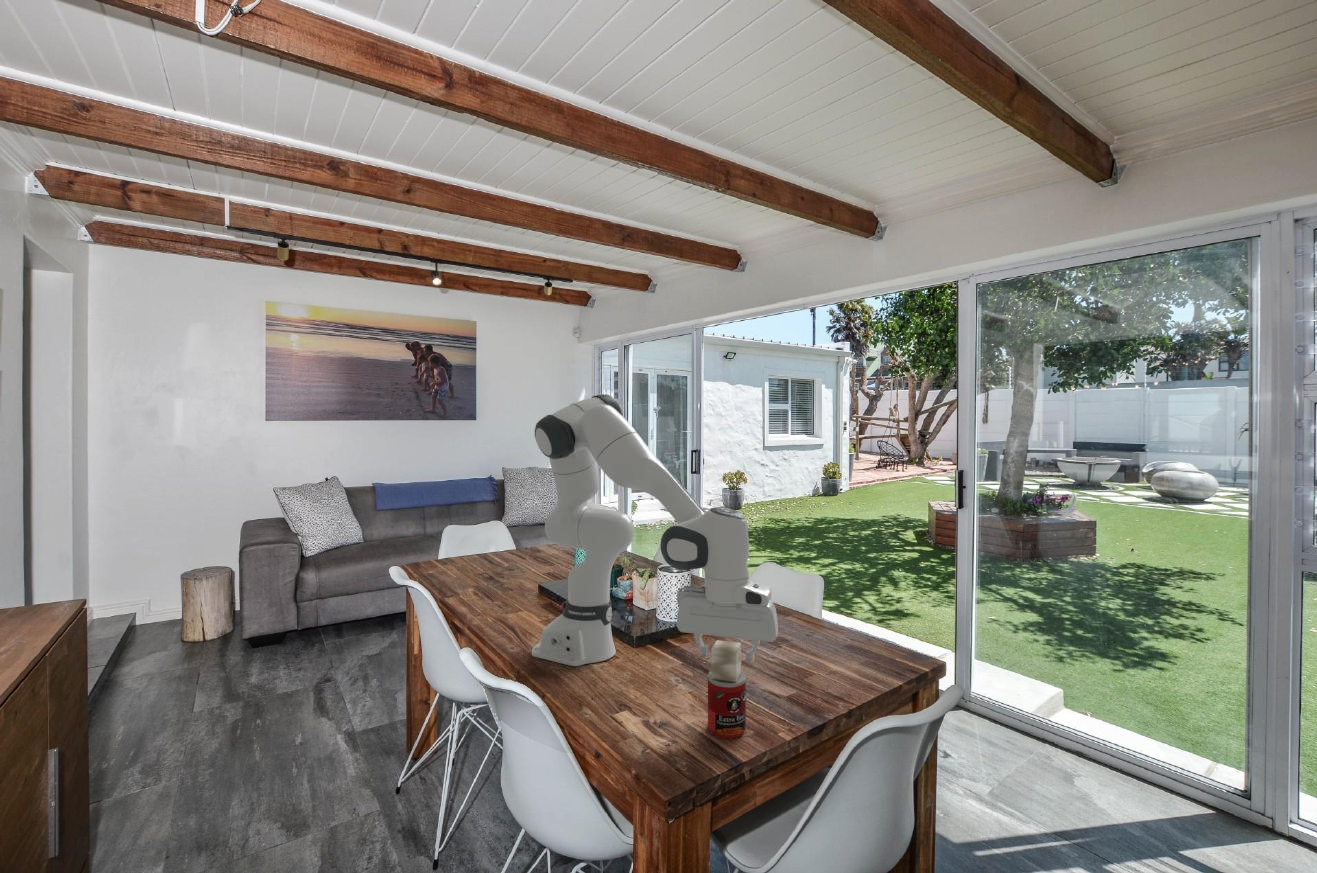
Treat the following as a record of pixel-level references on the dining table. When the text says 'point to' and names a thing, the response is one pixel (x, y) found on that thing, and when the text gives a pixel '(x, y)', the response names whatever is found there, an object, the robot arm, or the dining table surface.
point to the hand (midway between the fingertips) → (726, 657)
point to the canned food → (727, 707)
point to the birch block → (726, 661)
